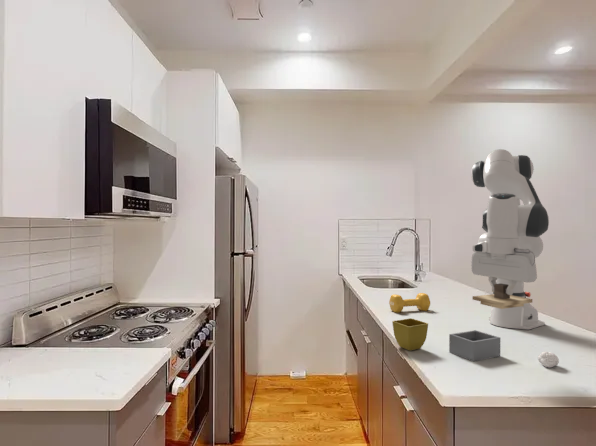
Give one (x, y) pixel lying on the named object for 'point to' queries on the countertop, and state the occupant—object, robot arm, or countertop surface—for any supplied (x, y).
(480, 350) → the box
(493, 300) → the lid
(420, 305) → the dumbbell
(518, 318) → the robot arm
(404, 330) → the flower pot
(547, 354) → the microfossil shell
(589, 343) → the countertop surface
